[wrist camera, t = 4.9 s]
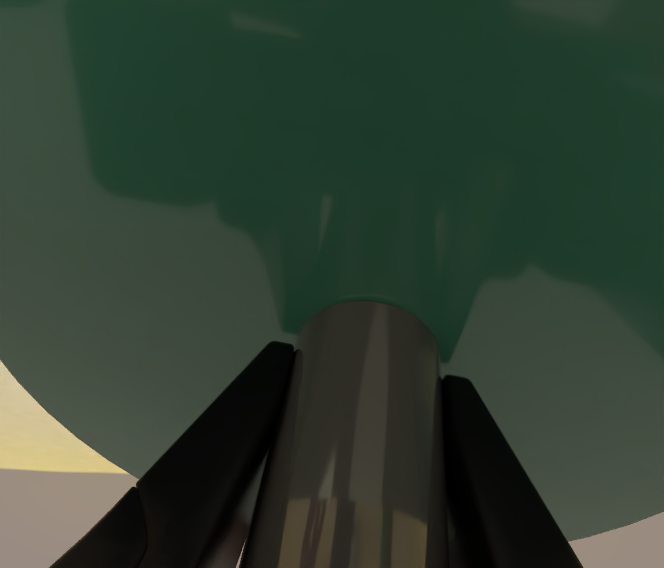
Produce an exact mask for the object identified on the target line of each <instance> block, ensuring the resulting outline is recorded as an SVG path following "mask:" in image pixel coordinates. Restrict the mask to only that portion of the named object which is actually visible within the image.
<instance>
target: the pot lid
mask: <svg viewBox="0 0 664 568" xmlns="http://www.w3.org/2000/svg"><path fill="white" fill-rule="evenodd" d="M271 341H279V342H284V343H289V344H292V345H293V346H294V354H293V358H292V362H291V366H290V370H289V374H288V378H287V382H286V386H285V390H284V394H283V398H282V402H281V406H280V410H279V414H278V417H277V421H276V425H275V428H274V431H273V434H272V438H271V442H270V446H269V450H268V454H267V458H266V462H265V466H264V470H263V474H262V478H261V482H260V486H259V490H258V494H257V497H256V501H255V505H254V509H253V513H252V517H251V521H250V525H249V529H248V533H247V537H246V541H245V545H244V549H243V553H242V557H241V561H240V565H239V568H450V561H449V537H448V513H447V490H446V466H445V443H444V419H443V395H442V379H443V377H444V376H445V375H448V374H450V375H455V376H460V377H465V378H468V379H469V380H470V381H471V382H472V384H473V385H474V387H475V389H476V390H477V392H478V394H479V395H480V397H481V398H482V400H483V402H484V403H485V405H486V407H487V408H488V410H489V412H490V413H491V415H492V417H493V418H494V420H495V422H496V423H497V425H498V427H499V428H500V430H501V432H502V433H503V435H504V437H505V438H506V440H507V442H508V443H509V445H510V447H511V448H512V450H513V452H514V453H515V455H516V457H517V458H518V460H519V462H520V463H521V465H522V467H523V468H524V470H525V471H526V473H527V475H528V476H529V478H530V480H531V481H532V483H533V485H534V486H535V488H536V490H537V491H538V493H539V495H540V496H541V498H542V500H543V501H544V503H545V505H546V506H547V508H548V510H549V511H550V513H551V515H552V516H553V518H554V520H555V521H556V523H557V525H558V526H559V528H560V530H561V531H562V533H563V535H564V536H565V538H566V539H567V541H572V540H577V539H581V538H586V537H590V536H593V535H597V534H600V533H603V532H606V531H610V530H613V529H617V528H620V527H623V526H627V525H630V524H633V523H635V522H638V521H640V520H643V519H646V518H648V517H651V516H653V515H656V514H659V513H661V512H664V0H0V360H1V361H2V363H3V364H4V365H5V366H6V368H7V369H8V370H9V371H10V373H11V374H12V375H13V376H14V378H15V379H16V380H17V381H18V383H19V384H20V385H21V386H22V387H23V388H24V389H25V390H26V391H27V392H28V393H29V394H30V395H31V396H32V397H33V398H34V399H35V400H36V401H37V402H38V403H39V404H40V405H41V406H42V407H43V408H44V409H45V410H46V411H47V412H48V413H49V414H50V415H51V416H53V417H54V418H55V419H56V420H57V421H58V422H60V423H61V424H62V425H63V426H64V427H65V428H67V429H68V430H69V431H70V432H71V433H72V434H74V435H75V436H76V437H77V438H78V439H80V440H81V441H83V442H84V443H85V444H87V445H88V446H89V447H91V448H92V449H94V450H95V451H96V452H98V453H99V454H100V455H102V456H103V457H105V458H106V459H107V460H109V461H110V462H112V463H114V464H115V465H117V466H118V467H120V468H122V469H123V470H125V471H127V472H128V473H130V474H131V475H133V476H135V477H136V478H138V479H140V478H141V477H142V476H143V475H144V474H145V473H146V472H147V471H148V470H149V469H150V468H151V467H152V466H153V465H154V464H155V463H156V461H157V460H158V459H159V458H160V457H161V456H162V455H163V454H164V453H165V452H166V451H167V450H168V449H169V448H170V447H171V446H172V445H173V443H174V442H175V441H176V440H177V439H178V438H179V437H180V436H181V435H182V434H183V433H184V432H185V431H186V430H187V429H188V428H189V427H190V426H191V424H192V423H193V422H194V421H195V420H196V419H197V418H198V417H199V416H200V415H201V414H202V413H203V412H204V411H205V410H206V409H207V408H208V406H209V405H210V404H211V403H212V402H213V401H214V400H215V399H216V398H217V397H218V396H219V395H220V394H221V393H222V392H223V391H224V390H225V389H226V387H227V386H228V385H229V384H230V383H231V382H232V381H233V380H234V379H235V378H236V377H237V376H238V375H239V374H240V373H241V372H242V371H243V370H244V368H245V367H246V366H247V365H248V364H249V363H250V362H251V361H252V360H253V359H254V358H255V357H256V356H257V355H258V354H259V353H260V352H261V350H262V349H263V348H264V347H265V346H266V345H267V344H268V343H269V342H271Z"/></svg>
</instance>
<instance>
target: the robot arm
mask: <svg viewBox="0 0 664 568" xmlns="http://www.w3.org/2000/svg"><path fill="white" fill-rule="evenodd" d="M293 354H294V346H293V345H292V344H289V343H284V342H279V341H271V342H269V343H268V344H267V345H266V346H265V347H264V348H263V349H262V350H261V352H260V353H259V354H258V355H257V356H256V357H255V358H254V359H253V360H252V361H251V362H250V363H249V364H248V365H247V366H246V367H245V368H244V370H243V371H242V372H241V373H240V374H239V375H238V376H237V377H236V378H235V379H234V380H233V381H232V382H231V383H230V384H229V385H228V386H227V387H226V389H225V390H224V391H223V392H222V393H221V394H220V395H219V396H218V397H217V398H216V399H215V400H214V401H213V402H212V403H211V404H210V405H209V406H208V408H207V409H206V410H205V411H204V412H203V413H202V414H201V415H200V416H199V417H198V418H197V419H196V420H195V421H194V422H193V423H192V424H191V426H190V427H189V428H188V429H187V430H186V431H185V432H184V433H183V434H182V435H181V436H180V437H179V438H178V439H177V440H176V441H175V442H174V443H173V445H172V446H171V447H170V448H169V449H168V450H167V451H166V452H165V453H164V454H163V455H162V456H161V457H160V458H159V459H158V460H157V461H156V463H155V464H154V465H153V466H152V467H151V468H150V469H149V470H148V471H147V472H146V473H145V474H144V475H143V476H142V477H141V478H140V479H139V481H138V482H137V483H136V487H137V488H136V487H132V488H131V489H130V490H129V491H128V492H127V493H126V494H125V495H124V496H123V497H122V498H121V499H120V500H119V501H118V502H117V504H115V506H114V507H113V508H112V509H111V510H110V511H109V512H108V513H107V514H106V515H105V516H104V517H103V518H102V519H101V520H100V521H99V522H98V523H97V524H96V525H95V526H94V527H93V528H92V529H91V530H90V531H89V532H88V533H87V534H86V535H85V536H83V537H82V538H81V539H80V540H79V541H78V542H77V543H76V544H75V545H74V546H72V547H71V548H70V549H69V550H68V551H67V552H66V553H65V554H64V555H62V556H61V557H60V558H59V559H58V560H57V561H56V562H55V563H54V564H52V565H51V566H50V567H49V568H236V565H237V562H238V559H239V557H240V554H241V551H242V548H243V545H244V543H245V540H246V537H247V533H248V529H249V525H250V521H251V517H252V513H253V509H254V505H255V501H256V497H257V494H258V490H259V486H260V482H261V478H262V474H263V470H264V466H265V462H266V458H267V454H268V450H269V446H270V442H271V438H272V434H273V431H274V428H275V425H276V421H277V417H278V414H279V410H280V406H281V402H282V398H283V394H284V390H285V386H286V382H287V378H288V374H289V370H290V366H291V362H292V358H293ZM442 395H443V419H444V443H445V466H446V490H447V513H448V537H449V561H450V568H583V566H582V564H581V563H580V561H579V560H578V558H577V556H576V555H575V553H574V551H573V550H572V548H571V546H570V545H569V543H568V541H567V539H566V538H565V536H564V535H563V533H562V531H561V530H560V528H559V526H558V525H557V523H556V521H555V520H554V518H553V516H552V515H551V513H550V511H549V510H548V508H547V506H546V505H545V503H544V501H543V500H542V498H541V496H540V495H539V493H538V491H537V490H536V488H535V486H534V485H533V483H532V481H531V480H530V478H529V476H528V475H527V473H526V471H525V470H524V468H523V467H522V465H521V463H520V462H519V460H518V458H517V457H516V455H515V453H514V452H513V450H512V448H511V447H510V445H509V443H508V442H507V440H506V438H505V437H504V435H503V433H502V432H501V430H500V428H499V427H498V425H497V423H496V422H495V420H494V418H493V417H492V415H491V413H490V412H489V410H488V408H487V407H486V405H485V403H484V402H483V400H482V398H481V397H480V395H479V394H478V392H477V390H476V389H475V387H474V385H473V384H472V382H471V381H470V380H469V379H468V378H465V377H460V376H455V375H450V374H448V375H445V376H444V377H443V379H442Z"/></svg>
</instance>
